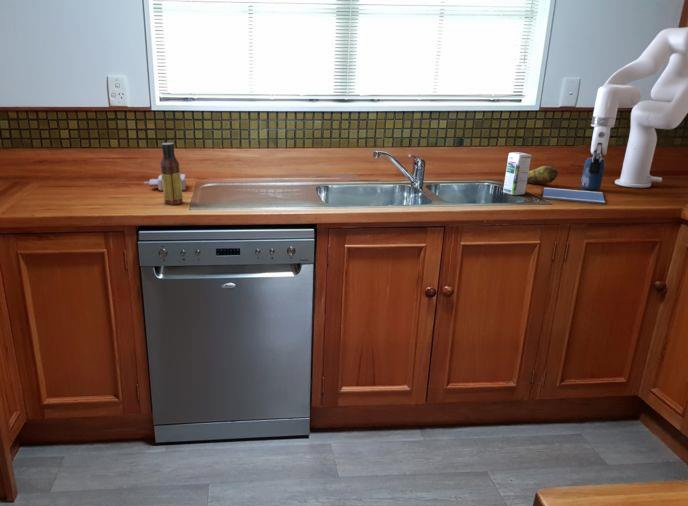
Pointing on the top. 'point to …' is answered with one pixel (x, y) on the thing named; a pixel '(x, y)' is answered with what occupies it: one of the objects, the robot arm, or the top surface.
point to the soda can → (592, 176)
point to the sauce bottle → (171, 176)
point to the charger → (159, 182)
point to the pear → (542, 175)
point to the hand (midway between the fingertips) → (593, 171)
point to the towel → (573, 195)
